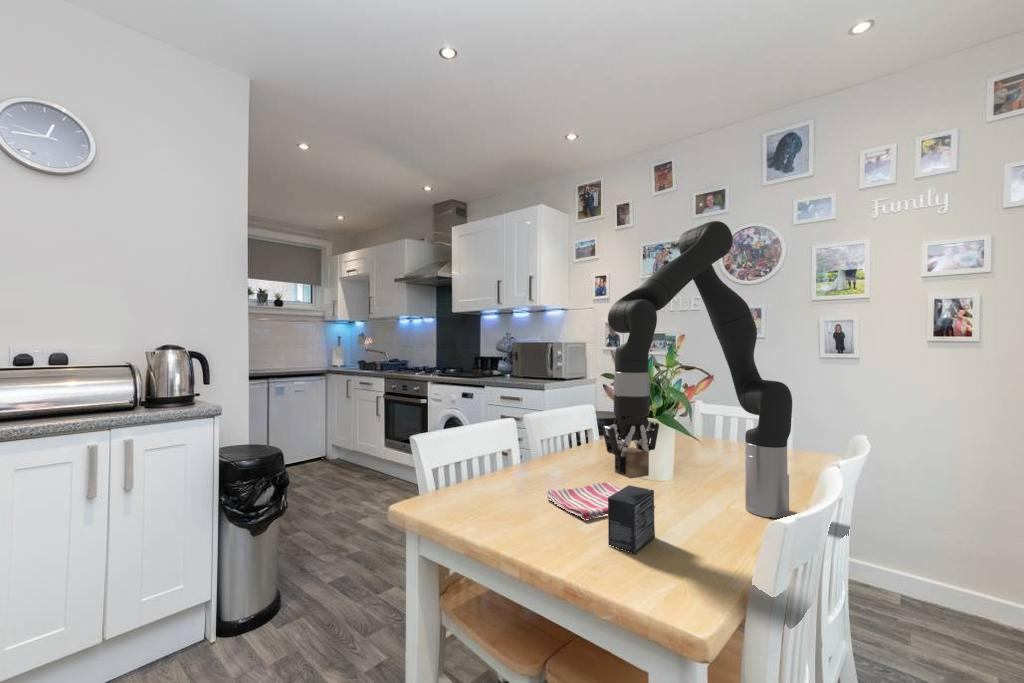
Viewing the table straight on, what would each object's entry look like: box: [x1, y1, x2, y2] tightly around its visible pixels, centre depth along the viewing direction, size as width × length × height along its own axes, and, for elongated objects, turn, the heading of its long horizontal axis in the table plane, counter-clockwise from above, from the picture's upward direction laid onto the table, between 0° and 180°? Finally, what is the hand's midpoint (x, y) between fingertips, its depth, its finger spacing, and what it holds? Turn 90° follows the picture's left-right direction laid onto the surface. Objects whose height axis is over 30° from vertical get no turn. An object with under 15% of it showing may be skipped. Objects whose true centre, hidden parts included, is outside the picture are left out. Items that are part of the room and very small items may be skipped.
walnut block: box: [614, 446, 650, 480], centre depth 95 cm, size 5×5×5 cm
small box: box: [607, 485, 656, 554], centre depth 95 cm, size 11×6×10 cm, turn 141°
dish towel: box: [546, 482, 623, 521], centre depth 118 cm, size 17×23×4 cm
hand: (631, 471), depth 95 cm, fingers closed on walnut block, 5 cm apart
